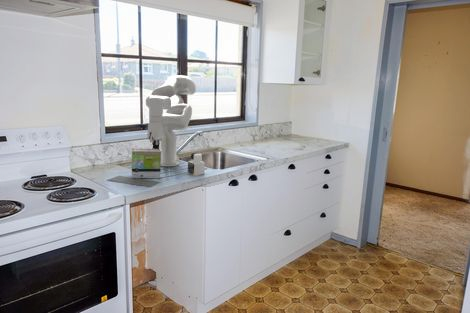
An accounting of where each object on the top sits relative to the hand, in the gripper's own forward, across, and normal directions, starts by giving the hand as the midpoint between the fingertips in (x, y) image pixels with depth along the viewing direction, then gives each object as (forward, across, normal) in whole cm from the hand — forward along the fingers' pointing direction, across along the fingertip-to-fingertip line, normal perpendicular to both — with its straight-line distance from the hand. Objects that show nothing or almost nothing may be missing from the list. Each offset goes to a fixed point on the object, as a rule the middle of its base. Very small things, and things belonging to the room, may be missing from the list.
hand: (156, 151), depth 206 cm
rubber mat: (+12, +21, 0) cm, 24 cm away
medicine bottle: (+12, -9, +21) cm, 26 cm away
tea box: (+12, +10, 0) cm, 16 cm away
